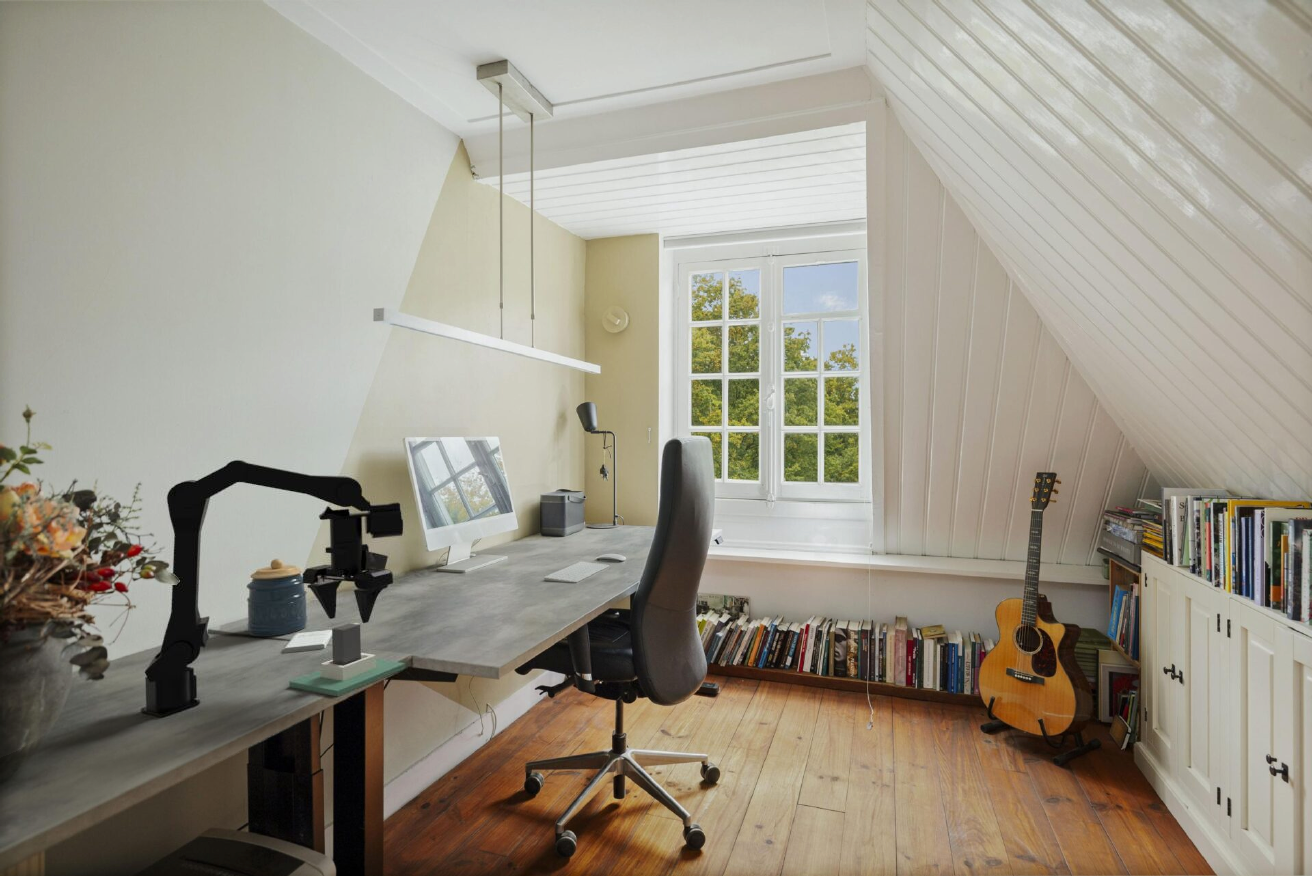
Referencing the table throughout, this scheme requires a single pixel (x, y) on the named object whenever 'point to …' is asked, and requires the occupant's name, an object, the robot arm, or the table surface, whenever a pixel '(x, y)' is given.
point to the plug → (346, 644)
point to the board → (346, 675)
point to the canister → (276, 600)
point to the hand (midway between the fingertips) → (348, 620)
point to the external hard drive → (308, 641)
